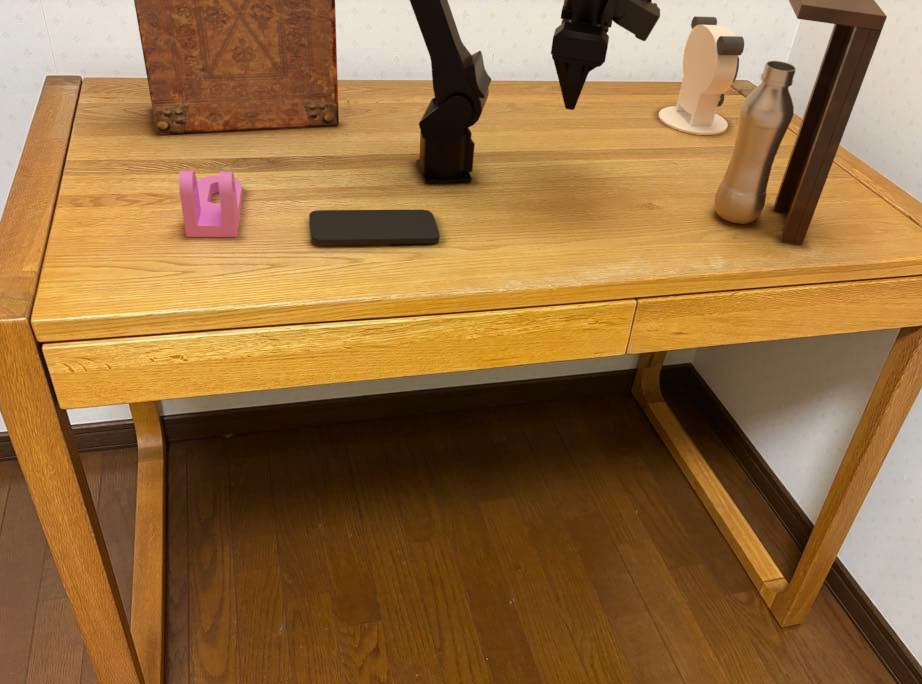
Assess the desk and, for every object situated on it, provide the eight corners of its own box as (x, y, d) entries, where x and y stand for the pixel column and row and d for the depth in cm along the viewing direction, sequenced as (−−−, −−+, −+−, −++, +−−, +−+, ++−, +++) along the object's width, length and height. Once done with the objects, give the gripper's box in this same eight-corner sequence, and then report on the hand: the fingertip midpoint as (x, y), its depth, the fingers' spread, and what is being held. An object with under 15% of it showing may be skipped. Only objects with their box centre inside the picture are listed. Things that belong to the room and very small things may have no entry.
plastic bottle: (761, 213, 115) (810, 63, 102) (755, 234, 110) (806, 79, 97) (714, 202, 116) (756, 52, 104) (706, 222, 111) (750, 68, 99)
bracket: (237, 237, 97) (230, 180, 93) (186, 236, 96) (177, 179, 92) (244, 186, 107) (238, 133, 103) (198, 185, 106) (190, 131, 102)
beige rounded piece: (740, 136, 136) (769, 39, 126) (676, 137, 133) (700, 38, 124) (708, 107, 145) (733, 15, 135) (648, 107, 142) (668, 13, 132)
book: (326, 102, 131) (318, -123, 111) (339, 126, 124) (333, -109, 105) (151, 109, 122) (111, -133, 103) (155, 135, 116) (113, -118, 97)
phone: (441, 238, 100) (311, 240, 96) (440, 244, 100) (312, 246, 97) (431, 209, 105) (308, 209, 102) (431, 215, 106) (308, 216, 102)
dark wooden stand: (730, 234, 109) (801, 4, 92) (725, 200, 117) (790, -18, 99) (802, 245, 109) (887, 16, 91) (792, 210, 117) (869, -7, 99)
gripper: (666, -9, 89) (634, 134, 99) (664, -47, 103) (636, 81, 113) (561, -25, 90) (540, 119, 100) (574, -61, 104) (555, 68, 114)
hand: (572, 96), depth 107 cm, fingers open, 9 cm apart
